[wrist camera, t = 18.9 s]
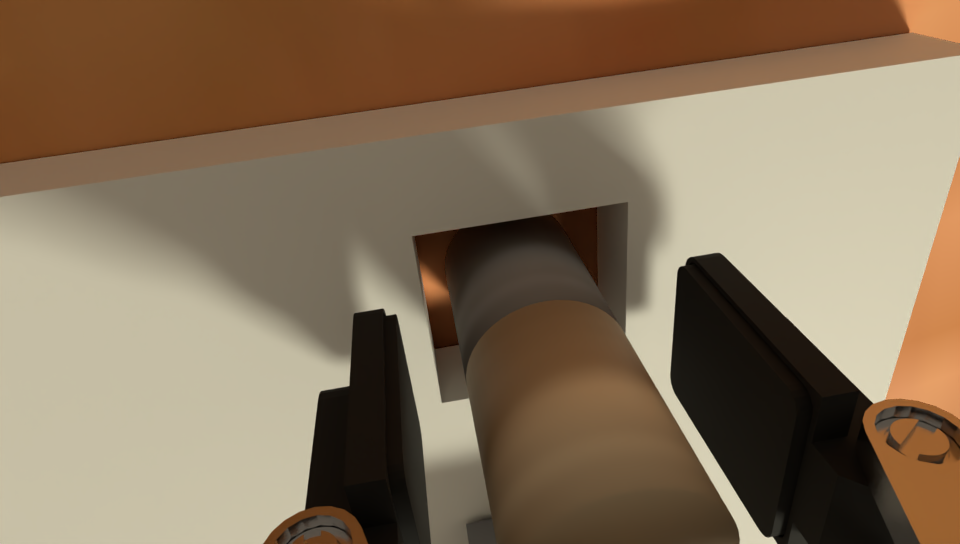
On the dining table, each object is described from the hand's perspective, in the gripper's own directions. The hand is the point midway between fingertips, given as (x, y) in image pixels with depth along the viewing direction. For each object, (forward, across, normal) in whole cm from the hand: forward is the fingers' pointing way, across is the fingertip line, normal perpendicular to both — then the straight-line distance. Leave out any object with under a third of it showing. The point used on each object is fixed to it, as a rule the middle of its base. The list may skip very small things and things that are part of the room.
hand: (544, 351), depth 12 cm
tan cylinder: (+3, 0, 0) cm, 3 cm away
